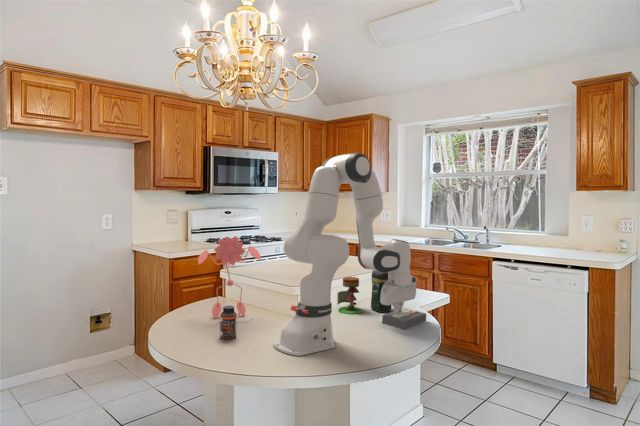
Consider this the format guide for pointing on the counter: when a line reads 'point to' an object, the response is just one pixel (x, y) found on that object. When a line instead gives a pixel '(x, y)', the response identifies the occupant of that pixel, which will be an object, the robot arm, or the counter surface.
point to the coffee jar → (378, 291)
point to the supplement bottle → (228, 323)
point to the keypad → (404, 320)
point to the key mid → (405, 312)
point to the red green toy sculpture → (349, 296)
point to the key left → (398, 316)
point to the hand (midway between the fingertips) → (397, 312)
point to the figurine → (229, 254)
